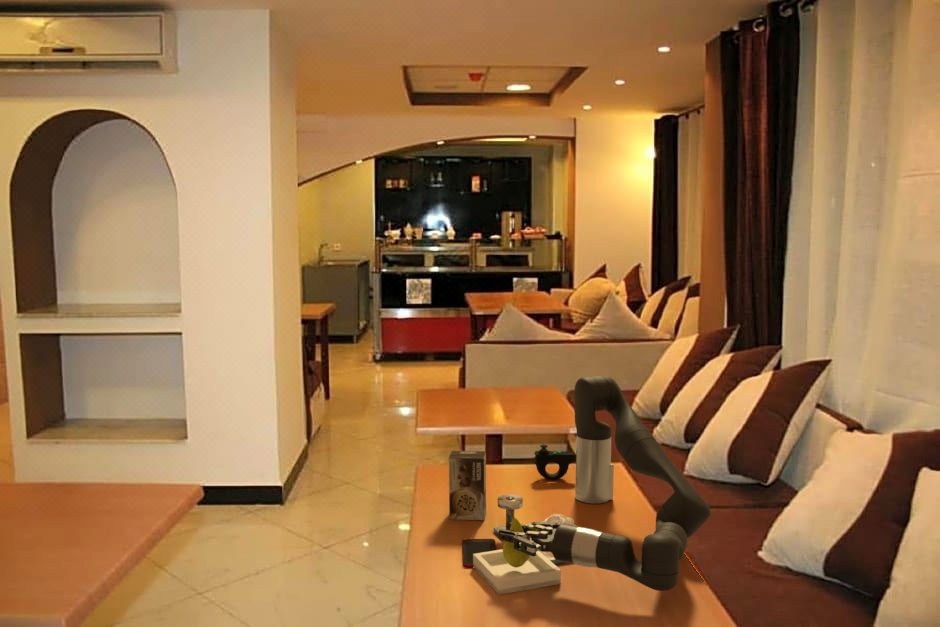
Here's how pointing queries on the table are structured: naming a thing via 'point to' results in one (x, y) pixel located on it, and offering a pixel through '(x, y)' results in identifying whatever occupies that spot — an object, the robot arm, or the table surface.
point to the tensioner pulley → (508, 508)
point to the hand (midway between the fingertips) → (504, 530)
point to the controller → (553, 456)
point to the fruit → (509, 552)
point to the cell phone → (475, 549)
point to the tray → (516, 572)
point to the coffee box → (467, 485)
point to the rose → (560, 519)
